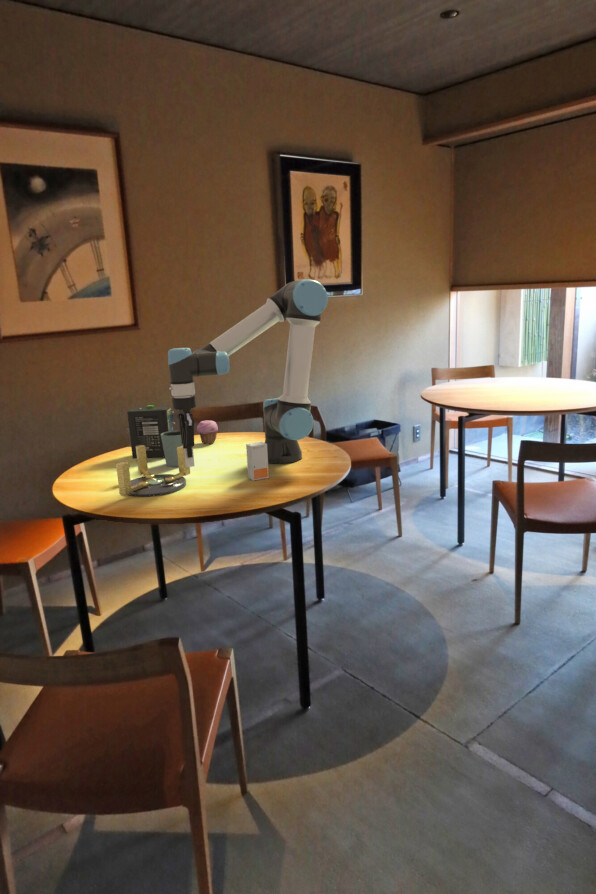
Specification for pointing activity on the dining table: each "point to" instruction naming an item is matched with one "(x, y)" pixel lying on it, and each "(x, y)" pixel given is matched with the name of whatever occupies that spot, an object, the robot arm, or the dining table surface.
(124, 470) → the ball-tipped golden bracket
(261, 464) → the skincare box
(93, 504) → the dining table surface
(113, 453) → the dining table surface
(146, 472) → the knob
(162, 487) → the levelling plate
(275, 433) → the robot arm
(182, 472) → the tan l-shaped bracket
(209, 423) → the cupcake
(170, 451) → the grey cup
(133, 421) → the router
